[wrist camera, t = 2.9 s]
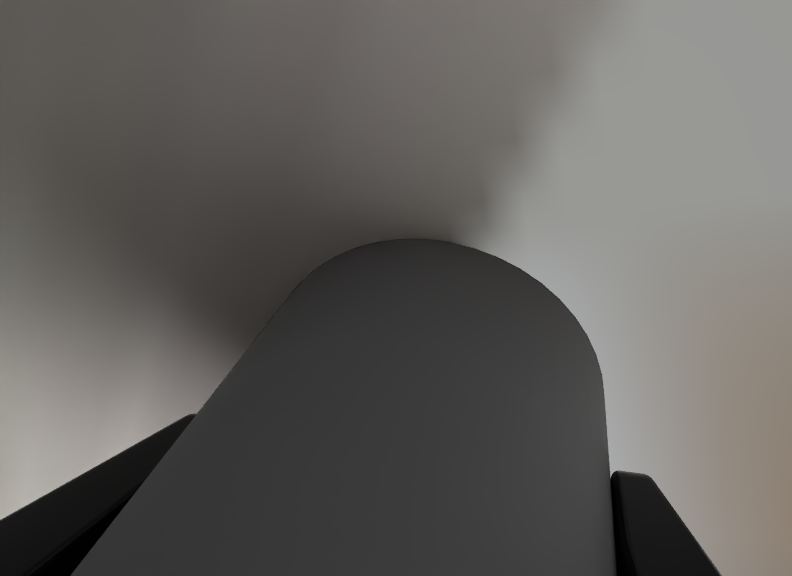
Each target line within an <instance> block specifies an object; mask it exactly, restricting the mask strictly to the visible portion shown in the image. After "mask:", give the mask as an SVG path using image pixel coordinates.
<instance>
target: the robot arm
mask: <svg viewBox="0 0 792 576" xmlns="http://www.w3.org/2000/svg"><path fill="white" fill-rule="evenodd" d="M196 415H197V414H190V415H187V416H185V417H183V418H182V419H180V420H178V421H176V422H174V423H173V424H171V425H169V426H167V427H165V428H164V429H162V430H160V431H158V432H157V433H155V434H153V435H151V436H149V437H148V438H146V439H144V440H142V441H141V442H139V443H137V444H135V445H133V446H132V447H130V448H128V449H126V450H125V451H123V452H121V453H119V454H117V455H116V456H114V457H112V458H110V459H108V460H107V461H105V462H103V463H101V464H100V465H98V466H96V467H94V468H92V469H91V470H89V471H87V472H85V473H84V474H82V475H80V476H78V477H76V478H75V479H73V480H71V481H69V482H68V483H66V484H64V485H62V486H60V487H59V488H57V489H55V490H53V491H51V492H50V493H48V494H46V495H44V496H43V497H41V498H39V499H37V500H35V501H34V502H32V503H30V504H28V505H27V506H25V507H23V508H21V509H19V510H18V511H16V512H14V513H12V514H10V515H9V516H7V517H5V518H3V519H2V520H0V576H70V575H71V574H72V573H73V572H74V570H75V569H76V568H77V567H78V565H79V564H80V563H81V561H82V560H83V559H84V558H85V556H86V555H87V554H88V552H89V551H90V550H91V549H92V547H93V546H94V545H95V544H96V542H97V541H98V540H99V538H100V537H101V536H102V535H103V533H104V532H105V531H106V530H107V528H108V527H109V526H110V524H111V523H112V522H113V521H114V519H115V518H116V517H117V515H118V514H119V513H120V512H121V510H122V509H123V508H124V507H125V505H126V504H127V503H128V501H129V500H130V499H131V498H132V496H133V495H134V494H135V492H136V491H137V490H138V489H139V487H140V486H141V485H142V484H143V482H144V481H145V480H146V478H147V477H148V476H149V475H150V473H151V472H152V471H153V470H154V468H155V467H156V466H157V464H158V463H159V462H160V461H161V459H162V458H163V457H164V455H165V454H166V453H167V452H168V450H169V449H170V448H171V447H172V445H173V444H174V443H175V441H176V440H177V439H178V438H179V436H180V435H181V434H182V432H183V431H184V430H185V429H186V427H187V426H188V425H189V424H190V422H191V421H192V420H193V418H194V417H195V416H196ZM610 481H611V494H612V508H613V521H614V535H615V548H616V562H617V576H722V575H721V574H720V573H719V571H718V570H717V568H716V567H715V566H714V564H713V563H712V561H711V560H710V559H709V557H708V556H707V554H706V553H705V552H704V550H703V549H702V547H701V546H700V545H699V543H698V542H697V541H696V539H695V538H694V536H693V535H692V534H691V532H690V531H689V529H688V528H687V527H686V525H685V524H684V522H683V521H682V520H681V518H680V517H679V515H678V514H677V513H676V511H675V510H674V508H673V507H672V506H671V504H670V503H669V501H668V500H667V499H666V497H665V496H664V495H663V493H662V492H661V490H660V489H659V488H658V486H657V485H656V483H655V482H654V481H653V480H652V478H651V477H649V476H648V475H645V474H640V473H632V472H625V471H615V472H614V473H613V474H612V476H611V480H610Z"/></svg>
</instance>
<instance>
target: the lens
mask: <svg viewBox="0 0 792 576" xmlns="http://www.w3.org/2000/svg"><path fill="white" fill-rule="evenodd" d="M70 576H617V562H616V548H615V535H614V521H613V508H612V494H611V481H610V467H609V454H608V440H607V426H606V413H605V399H604V389H603V380H602V373H601V370H600V366H599V363H598V360H597V356H596V353H595V352H594V349H593V347H592V345H591V343H590V340H589V338H588V336H587V334H586V333H585V331H584V330H583V328H582V327H581V325H580V324H579V322H578V321H577V319H576V318H575V316H574V315H573V314H572V313H571V312H570V311H569V309H568V308H567V307H566V306H565V305H564V304H563V303H562V301H561V300H560V299H559V298H558V297H557V296H555V295H554V294H553V293H552V292H551V291H549V289H547V288H546V287H545V286H544V285H543V284H542V283H540V282H539V281H538V280H536V279H534V278H533V277H531V276H530V275H529V274H527V273H526V272H524V271H523V270H521V269H520V268H518V267H516V266H514V265H512V264H510V263H508V262H506V261H504V260H502V259H500V258H498V257H496V256H493V255H490V254H488V253H485V252H482V251H480V250H477V249H474V248H470V247H466V246H462V245H458V244H454V243H450V242H442V241H434V240H425V239H400V240H392V241H385V242H377V243H373V244H369V245H366V246H362V247H358V248H355V249H352V250H350V251H348V252H345V253H343V254H340V255H338V256H336V257H334V258H332V259H331V260H329V261H327V262H326V263H324V264H322V265H321V266H319V267H318V268H317V269H315V270H314V271H313V272H312V273H311V274H309V275H308V276H307V277H306V278H305V279H303V281H302V282H301V283H300V284H299V285H298V286H297V288H296V289H295V290H294V291H293V292H292V293H291V295H290V296H289V297H288V298H287V300H286V301H285V302H284V304H283V305H282V306H281V307H280V309H279V310H278V311H277V312H276V314H275V315H274V316H273V318H272V319H271V320H270V321H269V323H268V324H267V325H266V327H265V328H264V329H263V330H262V332H261V333H260V334H259V335H258V337H257V338H256V339H255V341H254V342H253V343H252V344H251V346H250V347H249V348H248V349H247V351H246V352H245V353H244V355H243V356H242V357H241V358H240V360H239V361H238V362H237V364H236V365H235V366H234V367H233V369H232V370H231V371H230V372H229V374H228V375H227V376H226V378H225V379H224V380H223V381H222V383H221V384H220V385H219V387H218V388H217V389H216V390H215V392H214V393H213V394H212V395H211V397H210V398H209V399H208V401H207V402H206V403H205V404H204V406H203V407H202V408H201V410H200V411H199V412H198V413H197V415H196V416H195V417H194V418H193V420H192V421H191V422H190V424H189V425H188V426H187V427H186V429H185V430H184V431H183V432H182V434H181V435H180V436H179V438H178V439H177V440H176V441H175V443H174V444H173V445H172V447H171V448H170V449H169V450H168V452H167V453H166V454H165V455H164V457H163V458H162V459H161V461H160V462H159V463H158V464H157V466H156V467H155V468H154V470H153V471H152V472H151V473H150V475H149V476H148V477H147V478H146V480H145V481H144V482H143V484H142V485H141V486H140V487H139V489H138V490H137V491H136V492H135V494H134V495H133V496H132V498H131V499H130V500H129V501H128V503H127V504H126V505H125V507H124V508H123V509H122V510H121V512H120V513H119V514H118V515H117V517H116V518H115V519H114V521H113V522H112V523H111V524H110V526H109V527H108V528H107V530H106V531H105V532H104V533H103V535H102V536H101V537H100V538H99V540H98V541H97V542H96V544H95V545H94V546H93V547H92V549H91V550H90V551H89V552H88V554H87V555H86V556H85V558H84V559H83V560H82V561H81V563H80V564H79V565H78V567H77V568H76V569H75V570H74V572H73V573H72V574H71V575H70Z"/></svg>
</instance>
